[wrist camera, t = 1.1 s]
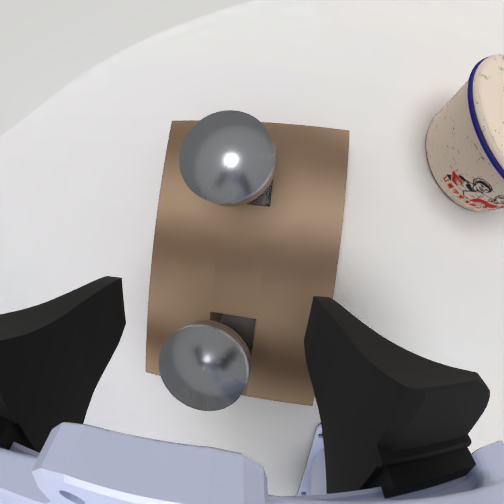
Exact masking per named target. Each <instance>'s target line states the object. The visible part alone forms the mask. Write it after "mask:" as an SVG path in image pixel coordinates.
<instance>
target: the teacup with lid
mask: <svg viewBox="0 0 504 504" xmlns="http://www.w3.org/2000/svg"><path fill="white" fill-rule="evenodd" d="M426 152H427V158H428V162H429V165H430V169H431V171H432V174H433V176H434V178H435V179H436V181H437V183H438V184H439V186H440V187H441V189H442V190H443V191H444V192H445V194H446V195H447V196H448V197H449V198H451V199H452V200H453V201H454V202H455V203H457V204H458V205H460V206H462V207H464V208H466V209H469V210H472V211H489V210H494V209H499V208H504V55H493V56H490V57H486V58H484V59H482V60H481V61H479V62H478V63H477V64H476V65H475V67H474V68H473V70H472V72H471V74H470V77H469V80H468V81H467V82H466V83H465V84H464V85H463V86H462V88H461V89H460V90H459V91H458V92H457V93H456V94H455V95H454V96H453V97H452V99H451V100H450V101H449V102H448V103H447V104H446V105H445V106H444V107H443V108H442V109H441V111H440V112H439V113H438V114H437V115H436V116H435V117H434V119H433V120H432V122H431V124H430V126H429V129H428V132H427V138H426Z"/></svg>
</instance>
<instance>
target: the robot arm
mask: <svg viewBox="0 0 504 504" xmlns="http://www.w3.org/2000/svg"><path fill="white" fill-rule="evenodd" d="M125 324H126V320H125V311H124V301H123V289H122V278H118V277H110V276H106V277H103V278H100V279H98V280H95V281H93V282H91V283H89V284H86V285H84V286H82V287H80V288H78V289H76V290H73V291H71V292H69V293H67V294H64V295H62V296H60V297H57V298H55V299H53V300H50V301H48V302H45V303H42V304H40V305H37V306H33V307H30V308H27V309H23V310H19V311H15V312H10V313H6V314H1V315H0V504H504V443H503V442H502V441H497V442H495V443H492V444H490V445H487V446H484V447H482V448H479V449H477V450H476V451H474V452H473V453H472V454H471V453H470V451H469V449H468V448H467V447H468V446H470V444H471V439H470V437H469V436H468V433H469V432H470V430H471V429H472V428H473V426H474V425H475V423H476V422H477V421H478V419H479V418H480V416H481V415H482V413H483V412H484V410H485V408H486V407H487V404H488V401H489V397H490V390H489V389H488V387H487V385H486V384H485V383H484V381H483V380H482V379H481V377H480V376H479V375H478V373H476V372H472V371H467V370H462V369H458V368H453V367H450V366H446V365H443V364H440V363H437V362H434V361H431V360H428V359H426V358H423V357H421V356H419V355H416V354H414V353H412V352H410V351H407V350H405V349H403V348H401V347H400V346H398V345H396V344H394V343H392V342H391V341H389V340H387V339H386V338H384V337H382V336H381V335H379V334H378V333H376V332H375V331H374V330H372V329H371V328H369V327H368V326H366V325H365V324H364V323H362V322H361V321H360V320H358V319H357V318H356V317H355V316H353V315H352V314H351V313H350V312H348V311H347V310H346V309H345V308H343V307H342V306H341V305H340V304H338V303H337V302H336V301H334V300H333V299H331V298H330V297H320V296H313V301H312V305H311V310H310V315H309V319H308V324H307V328H306V333H305V337H304V349H305V358H306V364H307V368H308V371H309V375H310V379H311V383H312V386H313V390H314V394H315V397H316V401H317V405H318V409H319V413H320V419H321V424H320V425H318V426H317V428H316V432H315V436H314V439H313V443H312V447H311V450H310V454H309V457H308V461H307V464H306V468H305V471H304V475H303V478H302V481H301V484H300V488H299V491H298V494H297V496H284V497H280V496H273V495H268V489H267V477H266V474H265V471H264V468H263V466H261V465H260V464H258V463H256V462H255V461H253V460H251V459H249V458H248V457H246V456H244V455H242V454H241V453H237V452H232V451H227V450H223V449H218V448H214V447H205V446H196V445H188V444H180V443H173V442H167V441H160V440H155V439H149V438H144V437H139V436H134V435H129V434H124V433H120V432H115V431H111V430H107V429H103V428H99V427H95V426H91V425H87V424H83V422H84V419H85V415H86V412H87V409H88V406H89V403H90V400H91V398H92V395H93V392H94V390H95V388H96V385H97V383H98V381H99V380H100V378H101V376H102V374H103V372H104V370H105V368H106V366H107V364H108V363H109V361H110V359H111V357H112V355H113V353H114V351H115V349H116V348H117V346H118V344H119V341H120V338H121V336H122V333H123V330H124V327H125ZM320 433H322V434H323V436H319V434H320ZM303 492H305V493H303Z"/></svg>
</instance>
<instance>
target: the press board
mask: <svg viewBox="0 0 504 504" xmlns="http://www.w3.org/2000/svg"><path fill="white" fill-rule="evenodd" d="M197 122H199V121H172V124H171V129H170V134H169V140H168V145H167V151H166V157H165V163H164V169H163V175H162V182H161V188H160V195H159V202H158V210H157V218H156V226H155V234H154V244H153V253H152V264H151V275H150V287H149V302H148V318H147V340H146V372H148V373H152V374H155V375H159V376H161V375H160V371H159V354H160V350H161V348H162V345H163V344H164V342H165V341H166V340H167V338H168V337H169V336H170V335H172V334H173V333H175V332H176V331H178V330H179V329H181V328H182V327H184V326H186V325H187V324H190V323H192V322H195V321H200V320H210V321H216V322H219V323H220V321H221V313H222V314H228V315H234V316H240V317H246V318H252V319H256V324H255V332H254V340H253V347H252V348H249V347H248V349H249V352H250V355H251V360H252V370H251V374H250V377H249V380H248V382H247V384H246V386H245V388H244V390H243V392H242V394H241V395H245V396H250V397H256V398H261V399H267V400H274V401H280V402H287V403H294V404H302V405H310V406H312V405H313V401H314V396H315V394H314V390H313V386H312V383H311V379H310V375H309V371H308V368H307V364H306V358H305V349H304V337H305V333H306V328H307V324H308V319H309V315H310V310H311V305H312V301H313V296H320V297H330V298H331V299H333V293H334V286H335V279H336V272H337V264H338V257H339V248H340V240H341V231H342V222H343V212H344V202H345V191H346V178H347V165H348V149H349V131H348V130H340V129H332V128H324V127H314V126H304V125H293V124H280V123H265V122H261V123H262V124H263V125H264V126H265V128H266V129H267V130H268V132H269V134H270V136H271V139H272V141H273V144H274V147H275V150H276V155H277V167H276V172H275V175H274V178H273V185H272V194H271V202H270V207H267V206H258V205H248V204H244V205H240V206H234V207H226V206H220V205H217V204H214V203H212V202H209V201H207V200H205V199H203V198H201V197H199V196H197V195H196V194H195V193H194V192H192V191H191V190H190V189H189V187H188V186H187V185H186V183H185V182H184V180H183V178H182V175H181V172H180V167H179V154H180V149H181V146H182V143H183V141H184V139H185V137H186V135H187V134H188V132H189V131H190V130H191V128H192V127H193V126H194V125H195V124H196V123H197Z"/></svg>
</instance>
